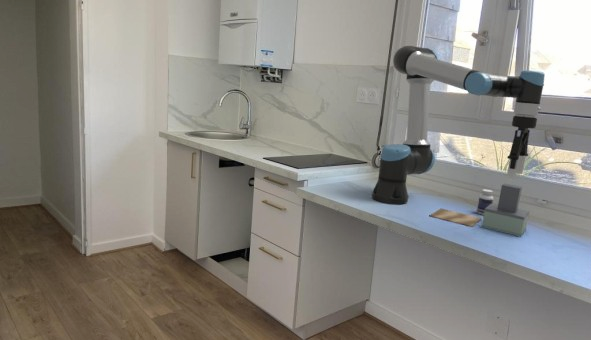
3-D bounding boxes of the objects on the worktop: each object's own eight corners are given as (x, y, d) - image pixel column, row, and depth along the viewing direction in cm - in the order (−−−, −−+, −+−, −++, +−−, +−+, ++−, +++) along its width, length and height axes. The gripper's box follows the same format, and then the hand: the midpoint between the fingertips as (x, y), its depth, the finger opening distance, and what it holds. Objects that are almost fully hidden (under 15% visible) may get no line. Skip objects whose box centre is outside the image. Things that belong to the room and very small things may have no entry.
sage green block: (481, 226, 160) (484, 211, 159) (488, 220, 169) (491, 205, 167) (520, 236, 152) (524, 220, 151) (526, 229, 161) (529, 213, 160)
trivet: (429, 216, 167) (429, 215, 167) (440, 209, 179) (441, 208, 179) (472, 227, 158) (472, 226, 158) (481, 219, 170) (481, 218, 169)
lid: (484, 211, 159) (489, 184, 157) (491, 205, 167) (496, 180, 165) (523, 220, 151) (529, 192, 149) (529, 213, 160) (534, 187, 158)
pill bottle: (492, 216, 175) (496, 192, 173) (477, 214, 176) (482, 191, 174) (488, 212, 180) (493, 189, 178) (475, 210, 181) (479, 188, 179)
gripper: (531, 117, 140) (519, 182, 144) (542, 116, 160) (531, 173, 164) (506, 115, 144) (495, 177, 148) (519, 114, 164) (510, 169, 168)
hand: (514, 175), depth 156 cm, fingers open, 13 cm apart
